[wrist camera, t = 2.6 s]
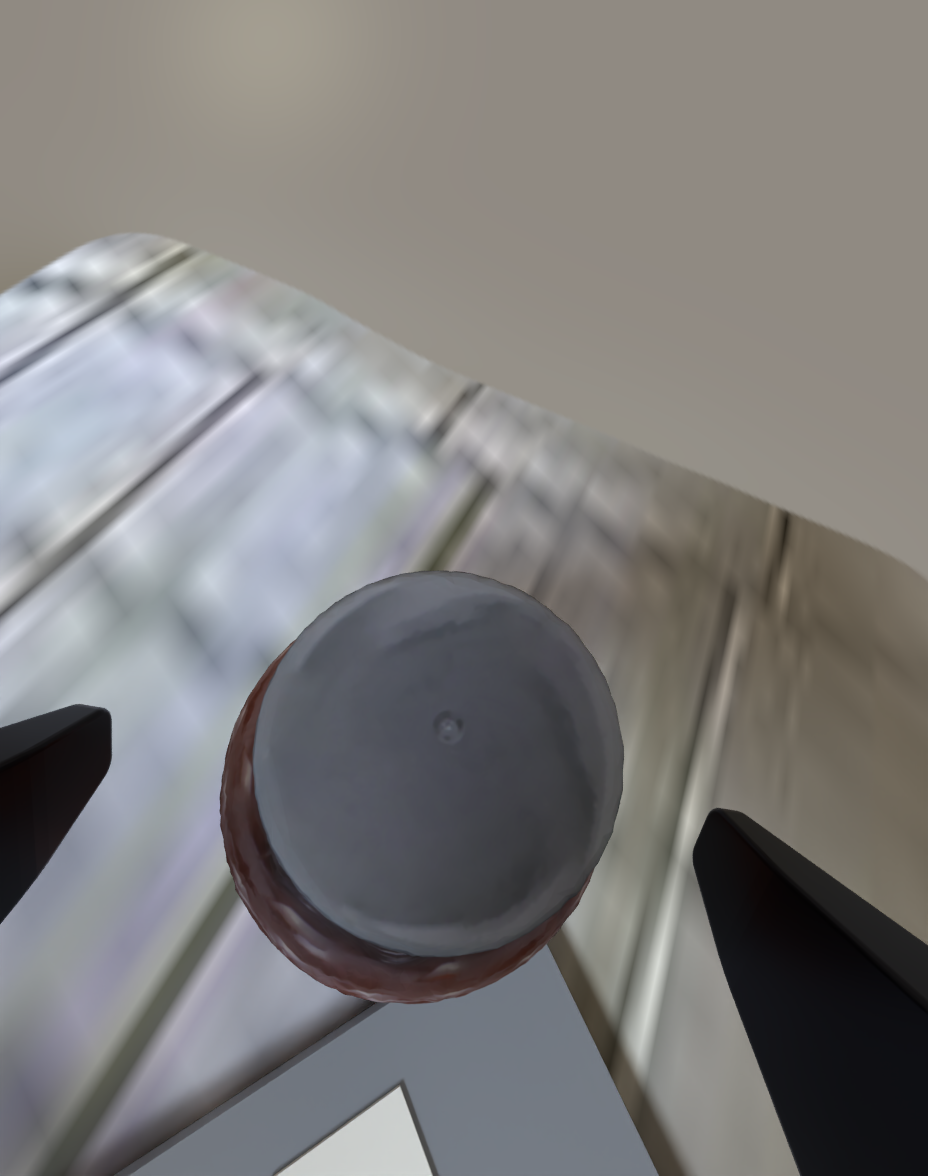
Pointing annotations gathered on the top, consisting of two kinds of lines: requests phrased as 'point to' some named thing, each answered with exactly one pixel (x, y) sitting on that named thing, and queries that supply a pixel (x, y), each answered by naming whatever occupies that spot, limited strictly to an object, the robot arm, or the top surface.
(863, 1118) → the robot arm
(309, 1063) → the label panel
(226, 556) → the top surface
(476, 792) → the supplement bottle
